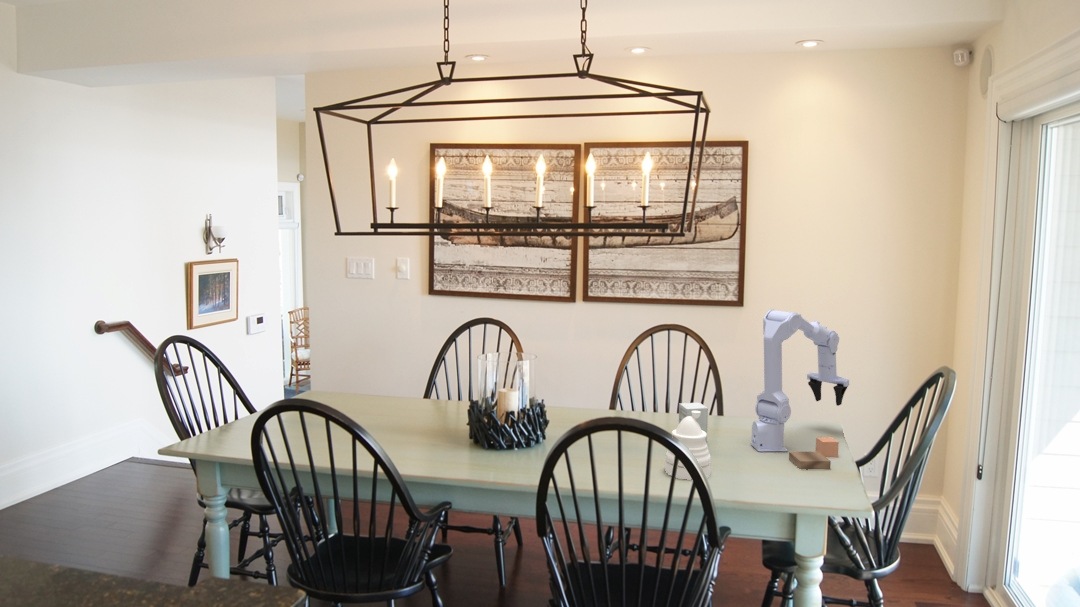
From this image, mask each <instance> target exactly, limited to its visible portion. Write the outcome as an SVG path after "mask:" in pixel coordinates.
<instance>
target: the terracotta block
mask: <svg viewBox="0 0 1080 607" xmlns="http://www.w3.org/2000/svg"><path fill="white" fill-rule="evenodd" d="M839 443H840V442H839V441H838V440H836V439H835V438H833V437H832V436H823V437H822V436H820V437H819V436H816V437H815V450H814V452H815V451H818V452H820V453H821V454H822V455H824V456H825V457H836V458H838V457H839Z"/></svg>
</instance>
